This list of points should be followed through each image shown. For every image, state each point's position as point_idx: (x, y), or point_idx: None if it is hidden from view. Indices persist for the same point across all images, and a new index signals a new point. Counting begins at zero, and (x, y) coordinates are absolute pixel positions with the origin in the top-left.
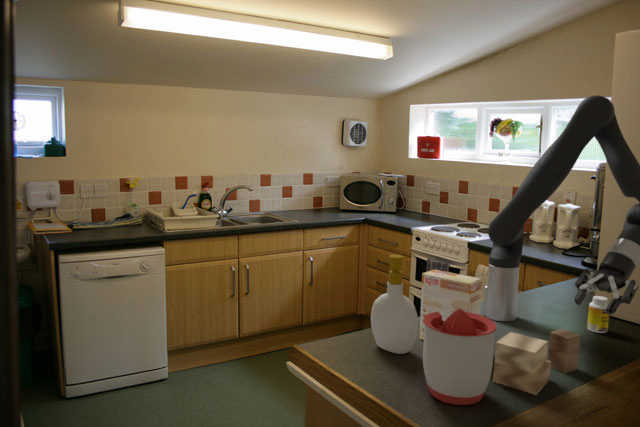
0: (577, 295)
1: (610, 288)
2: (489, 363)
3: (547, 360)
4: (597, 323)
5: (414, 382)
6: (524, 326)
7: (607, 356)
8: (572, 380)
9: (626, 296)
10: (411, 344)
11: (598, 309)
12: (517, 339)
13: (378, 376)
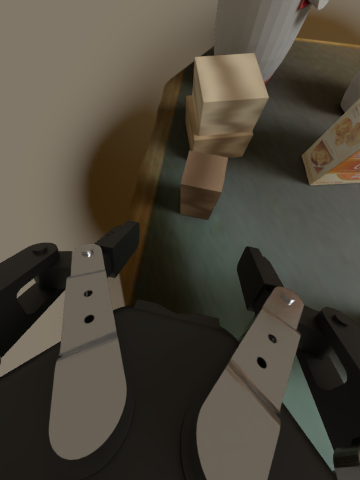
0: (264, 260)
1: (122, 307)
2: (218, 7)
3: (198, 139)
4: None
5: (279, 71)
6: None
7: (164, 298)
8: (171, 178)
9: (30, 250)
10: (348, 90)
11: None
12: (240, 79)
13: (309, 60)
